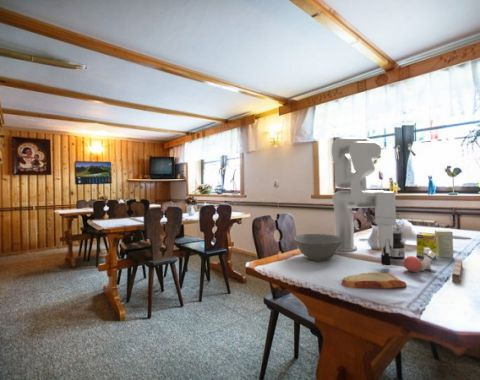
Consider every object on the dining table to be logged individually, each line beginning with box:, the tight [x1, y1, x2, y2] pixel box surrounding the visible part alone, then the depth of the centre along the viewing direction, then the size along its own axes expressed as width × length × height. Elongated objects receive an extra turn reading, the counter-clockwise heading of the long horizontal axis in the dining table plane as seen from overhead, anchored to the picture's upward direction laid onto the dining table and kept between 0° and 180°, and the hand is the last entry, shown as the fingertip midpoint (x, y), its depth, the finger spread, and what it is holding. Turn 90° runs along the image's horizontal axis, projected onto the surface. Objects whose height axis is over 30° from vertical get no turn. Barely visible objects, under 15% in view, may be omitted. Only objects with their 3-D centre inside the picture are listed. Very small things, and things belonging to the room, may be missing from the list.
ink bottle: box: [390, 230, 406, 260], centre depth 129 cm, size 10×9×12 cm
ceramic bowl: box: [293, 233, 343, 262], centre depth 129 cm, size 22×23×10 cm
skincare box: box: [434, 229, 454, 259], centre depth 128 cm, size 6×4×12 cm
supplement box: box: [415, 232, 437, 259], centre depth 127 cm, size 6×6×11 cm
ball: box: [402, 255, 422, 273], centre depth 108 cm, size 6×6×6 cm
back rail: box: [451, 258, 463, 284], centre depth 104 cm, size 24×2×3 cm, turn 139°
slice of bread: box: [340, 272, 407, 290], centre depth 96 cm, size 18×18×4 cm
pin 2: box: [419, 251, 436, 272], centre depth 108 cm, size 2×2×8 cm
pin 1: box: [423, 248, 432, 270], centre depth 110 cm, size 2×2×8 cm
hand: (385, 264), depth 113 cm, fingers closed
